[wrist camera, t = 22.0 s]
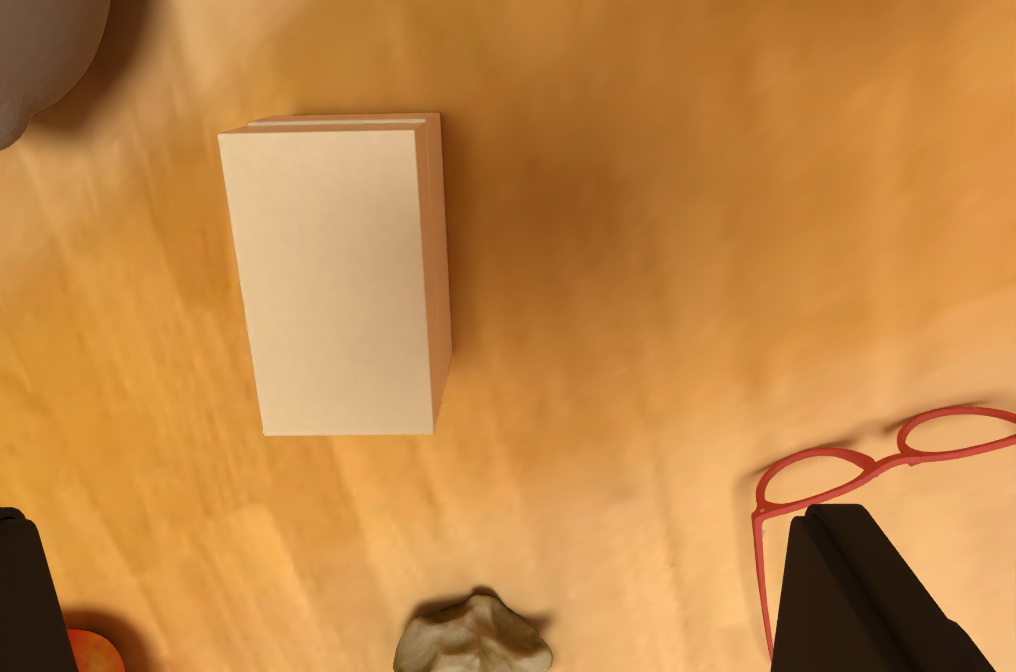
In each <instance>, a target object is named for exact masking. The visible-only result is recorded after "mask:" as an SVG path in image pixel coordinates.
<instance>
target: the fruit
mask: <svg viewBox="0 0 1016 672" xmlns="http://www.w3.org/2000/svg"><path fill="white" fill-rule="evenodd" d="M551 663H552V653H551V650H550V648H549V647H548V645H547V644H546V643H545V642H544V641H543V639H541V640H539V637H538V634H537V632H536V630H535V629H534V628H533V627H532V626H530V625H529V624H528V623H526V622H525V621H524V620H523V619H521V618H520V617H519V616H518V615H517V614H515V613H514V612H513V611H511V610H510V609H508V608H507V607H506V606H505V605H504V604H503V603H502V602H500V601H499V600H498V599H497V598H495V597H493V596H487V595H477V594H476V595H474V596H472V597H470V598H469V599H468V600H467V601H465V602H464V603H462V604H458V605H454V606H451V607H449V608H446V609H444V610H441V611H440V612H438V613H435V614H425V615H422V616H419V617H416V618H414V619H413V620H412V621H411V622H410V624H409V625H408V626H407V628H406V630H405V632H404V634H403V636H402V637H401V639H400V641H399V643H398V646H397V648H396V653H395V658H394V663H393V670H394V671H395V672H546V671H547V670H549V668H550V666H551Z"/></svg>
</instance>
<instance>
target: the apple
mask: <svg viewBox="0 0 1016 672" xmlns="http://www.w3.org/2000/svg"><path fill="white" fill-rule="evenodd" d="M67 633H68V636H69V640H70V643H71V647H72V650H73V653H74V657H75V660H76V664H77V667H78V671H79V672H125V668H124V664H123V661H122V659H121V656H120V654H119V653H118V651H117V649H116V648H115V647H114V646H113V645H112V643H110V642H109V641H108V640H107V639H106V638H104V637H102V636H101V635H98V634H96V633H93V632H90V631H85V630H78V629H67Z"/></svg>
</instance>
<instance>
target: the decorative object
mask: <svg viewBox="0 0 1016 672" xmlns="http://www.w3.org/2000/svg"><path fill="white" fill-rule="evenodd" d="M110 3H111V0H0V151H1V150H3V149H5V148H7V147H9V146H10V145H12V144H13V143H14V142H15V141H17V140H18V139H19V138H20V136H21V135H22V133H23V132H24V130H25V129H26V127H27V124H28V122H29V120H30V117H32V116H34V115H36V114H37V113H39V112H41V111H43V110H44V109H46V108H48V107H50V106H51V105H53V104H54V103H55V102H57V101H58V100H60V99H61V98H62V97H63V96H65V95H66V94H67V93H68V92H69V91H70V90H71V89H72V88H73V87H74V86H75V85H76V84H77V83H78V81H79V80H80V79H81V78H82V76H83V75H84V74H85V73H86V71H87V69H88V67H89V66H90V64H91V62H92V61H93V59H94V56H95V54H96V52H97V49H98V47H99V45H100V42H101V39H102V35H103V32H104V29H105V25H106V21H107V17H108V13H109V8H110Z"/></svg>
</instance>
